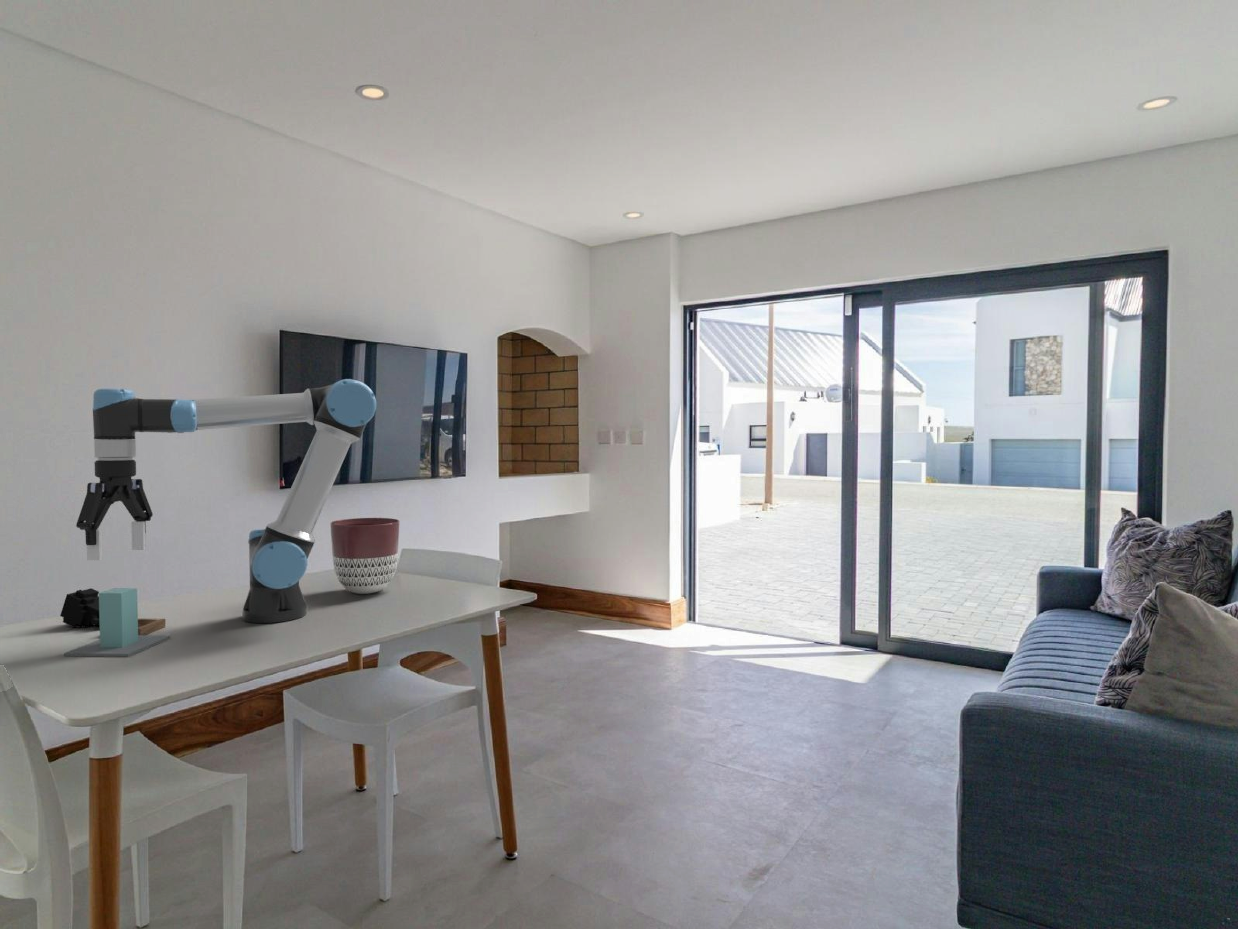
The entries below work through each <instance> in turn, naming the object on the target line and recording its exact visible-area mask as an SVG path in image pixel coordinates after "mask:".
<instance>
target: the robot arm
mask: <svg viewBox="0 0 1238 929" xmlns="http://www.w3.org/2000/svg"><path fill="white" fill-rule="evenodd" d="M92 398H93V402H92V404H93V406H92V418H93V419H92V422H93V439H94V442H93V443H94V444H93V445H94V446H93V448H94V450H93V451H94V458H97V460H95V461H94V462H93V463H94V476H95V477H96V478H99V482H88V483H87V486H86V494H85V497H84V501H83V504H82V507H81V509H80V513H79V516H78V519H77V521H76V528H78V529H79V530H81V531H85V533H84V534H85V545H86V559H87V561H102V560H103V542H102V541H103V534H102V533H103V530H102V529H99V527H100V526H101V524H102V522H103V520H104V518H105V517H106V515H107V513H108V510H109V509H110V507H111V506H112V505H114V504H115V503H117V502H121V503H122V504H123V505H124V507H125V509H126V511H128V513H129V515H130V516H131V518H132V519H133V520H134V521H130V522H131V523H130V524H131V526H130V527H131V550H132V551H144V550H145V551H146V549H147V548H146V543H147V542H146V533H147V531H146V529H147V528H146V527H147V526H146V523H147V522H149V521H151V519H152V517H153V515H154V514H153V511H152V509H151V506H150V504H149V503H150V502H149V500H148V498H147V495H146V493H145V490H144V483H143V480H142V479H141V478H132V477H135V476H136V475H137V461H136V460H135V459H134V458H136V456H137V448H136V447H137V444H136V433H169V434H171V433H173V434H174V433H175V434H176V433H177V434H184V433H194V432H195V431H202V430H204V431H205V430H214V429H217V430H218V429H227V428H230V429H231V428H243V427H253V426H254V427H255V426H267V425H280V424H290V423H291V424H293V423H305V422H306V423H307V424H309V425H311V426H315V428H316V432H315V434H314V436H313V438H312V441H311V443H310V445H309V447H308V450H307V451H306V454H305V456H304V458H303V461H302V463H301V465H300V467H299V470H298V472H297V473H296V476H295V479H294V481H293V482H292V485H291V488H290V490H289V492H288V494H287V495H286V499H285V501H284V503H283V506H282V507H281V510H280V512H279V514H278V516H277V518H276V520H274V521H273V522H270V523H267V525H266V526H265V528H263V529H253V530H251V531H250V532H249V536H248V541H247V543H248V544H249V545H248V548H249V555H248V556H249V557H248V558H249V590H248V593H247V596H246V599H245V602H244V605H243V608H242V620H243V621H244V622H247V623H253V624H267V623H268V624H271V623H280V622H281V623H282V622H288V621H292V620H296V619H300V618H302V617H304V616H306V615H307V613H308V612H307V611H308V610H307V609H308V608H307V603H306V600H305V598H304V595H303V592H302V590H301V587H300V581H301V579H302V578H303V576H304V575H305V574H306V570H307V567H308V559H309V556H310V553H311V551H312V549H313V547H314V544H315V542H316V539H315V537H314V535H313V531H314V529H315V527H316V524H317V522H318V520H319V517H320V515H321V513H322V510H323V508H324V506H325V504H326V501H327V499H328V497H329V495H330V492H331V490H332V487H333V485H334V483H335V481H336V479H337V477H338V474H339V472H340V471H341V470H340V469H341V467H342V465H343V462H344V460H345V458H346V456H347V453H348V451H349V448H350V447H351V445H352V444H353V443H356V442H358V441H360V439H361V437H362V435H363V433H364V430H365V428H366V426H367V424H368V423H369V422H370V421H371V420H372V418H373V417H375V416H374V415H375V414H376V413H375V412H376V410H377V399H376V395H375V394H374V392H373V390H372V389H371V388H370V387H369V386H368V385H367V384H366V383H364V382H362V381H359V380H355V379H353V378H352V379H351V378H345V379H341V380H338V381H336V382H334V383H332V384H328V385H326V386H322V387H314V388H306V389H305V390H304V391H303V392H297V393H296V392H295V393H282V394H281V393H280V394H266V395H265V394H264V395H249V396H246V395H245V396H234V397H233V396H231V397H218V398H201V399H182V398H176V399H175V398H174V399H171V398H170V399H168V398H167V399H165V398H164V399H163V398H157V399H156V398H155V399H153V398H146V399H145V398H144V399H143V398H138V397H136V396H135V392H134V390H132V389H126V388H124V389H123V388H98V389H96V390H95V391H94V392H93V397H92Z"/></svg>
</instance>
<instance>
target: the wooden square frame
mask: <svg viewBox="0 0 1238 929" xmlns="http://www.w3.org/2000/svg"><path fill="white" fill-rule="evenodd" d="M165 627H166V618H142V617H141V618H140V617H138V635H149V634H151V633H154V632H156V631H159V630H161V629H164V628H165Z"/></svg>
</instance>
